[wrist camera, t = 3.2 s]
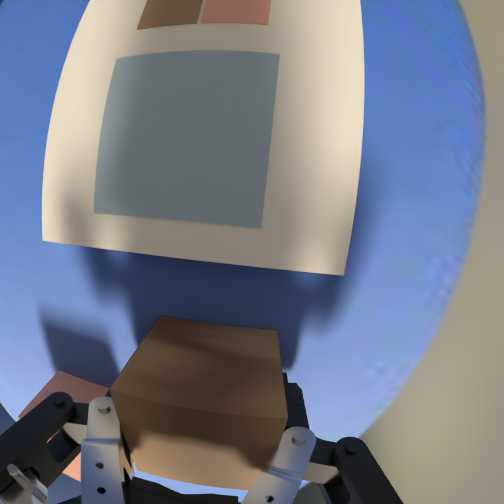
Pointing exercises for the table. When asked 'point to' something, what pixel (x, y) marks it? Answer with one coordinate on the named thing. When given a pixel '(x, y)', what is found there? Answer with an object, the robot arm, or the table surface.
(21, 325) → the table surface
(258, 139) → the board
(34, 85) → the table surface
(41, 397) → the coral block
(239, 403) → the walnut block
